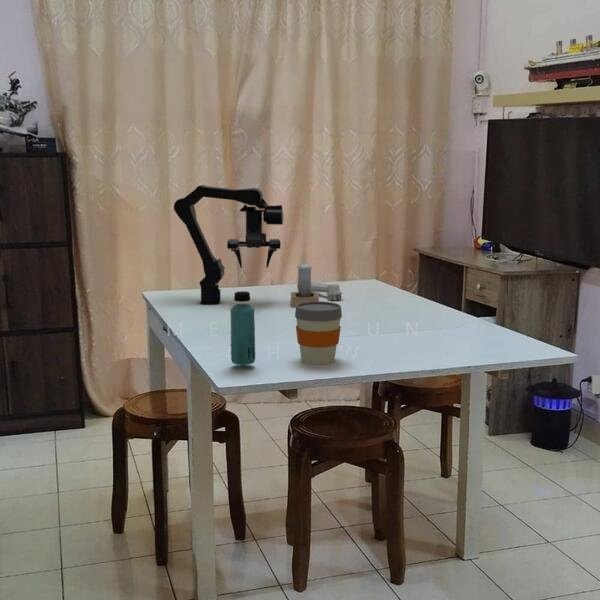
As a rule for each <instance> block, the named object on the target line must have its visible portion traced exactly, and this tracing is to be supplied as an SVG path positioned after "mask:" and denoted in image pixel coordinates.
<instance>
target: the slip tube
mask: <svg viewBox="0 0 600 600" xmlns="http://www.w3.org/2000/svg"><path fill="white" fill-rule="evenodd" d="M296 264H297V269H298V271H297V272H298V273H297V275H298V276H297V277H298V278H297V279H298V281H297V285H298V288H297V290H298V291H297V292H298V297H311V282H312V268H313V264H312V263H307V262H305V263H304V262H303V263H301V262H300V263H296Z"/></svg>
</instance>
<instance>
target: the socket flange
mask: <svg viewBox="0 0 600 600" xmlns="http://www.w3.org/2000/svg"><path fill="white" fill-rule="evenodd" d="M318 294H319V293H318V292H311V297H298V291H296V292H295V291H293V292H290V300H289V303H291V304H290V308H291V307H296V305H297V304H299V303H304V302H314V301H320V300H319V299H320V298H319V297H320V296H319V295H318Z"/></svg>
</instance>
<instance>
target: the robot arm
mask: <svg viewBox="0 0 600 600" xmlns="http://www.w3.org/2000/svg"><path fill="white" fill-rule="evenodd" d="M263 195H264V194H263V193H262V191H261V189H260V188H257V187H253V188H239V189H238V188H237V189H235V188H226V187H219V186H216V187H215V186H209V185H208V186H207V185H204V184H201V185H198V186H197V187H195V189H194V190H192V191H191V192H190V193H188V194H187V195H186V196H184V197H181V198H179V199H177V200H176V201H175V202H174V205H173V211H174V212H175V214H176V215H177V217H178V218H179V219H180V221H181V222H182V223H183V224H184V225H185V227H186V229H187V231H188V233H189V236H190V237H191V239H192V241H193V243H194V245H195V248H196V250H197V253H198V254H199V257H200V258H201V261H202V267H203V273H204V276H203V278H202V279H201V280H200V281H199V286H200V305H219V303H220V302H221V288H220V286H219V282H220V281H221V280H222V279H223V278H224V276H225V269H226V268H225V266H224V264H223V262H222V260H221V259H222V258H218V259H217V257H215V256H214V255H213V252H212V250H211V248H210V245H209V244H208V242H207V239H206V237H205V235H204V233H203V230H202V229H201V227H200V224H199V222H198V220H197V213H196V209H195V205H196V204H197V203H199V202H200V201H201V200H202V199H203V198H211V199H220V200H228V201H236V202H239V203H242V204H244V205H243V207H241V208H240V209H239V212H242V213H244V212H245V241H243V240H242V241H240V239H239V238H234V239H233V238H230V239H228V240H227V244H226V247H227V250H230V251H231V252H234V253H235V256H236V257H237V261H238V264H239V267H240V269H242V268H243V262H242V255H241V247H243V248H244V247H247V248H249V249H251V248H257V249H259V248H261V247H268V250H267V258H266V269H268V268H269V264H270V261H271V258H272V256H273V254H274V253H275V252H277V251H278V250H280V249H281V248H282V247H281V245H282V244H281V243H282V242H281V240H280V239H279V238H269V241H268V240H267V233H265V232H264V233H263V222H264V223H266V225H270V226H271V225H275V226H276V225H278V226H279V225H280V226H282V225H284V212H283V205H281V204H277V205H269V204H268V203H267V202H266V200H265V199H264V198H263Z"/></svg>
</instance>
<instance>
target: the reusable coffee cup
mask: <svg viewBox="0 0 600 600" xmlns="http://www.w3.org/2000/svg"><path fill="white" fill-rule="evenodd" d="M342 316H343V314H342V306H341V304H339V303H336V302H330V301H320V300H319V301H314V302H304V303H299V304H297V305H296V308H295V313H294V317H295V319H296V325H295V330H296V331H295V332H296V340H297V341H296V342H297V343H298V345H299V350H300V351H299V352H300V358H301V362H302V363H304V364H307V365H313V366H314V365H315V366H325V365H329V364H333V363H334V362H335V360H336V359H335V358H336V353H337V346H338V344H339V342H340V337H341V336H340V334H341V328H342V327H341V325H340V323H341V319H342Z"/></svg>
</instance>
